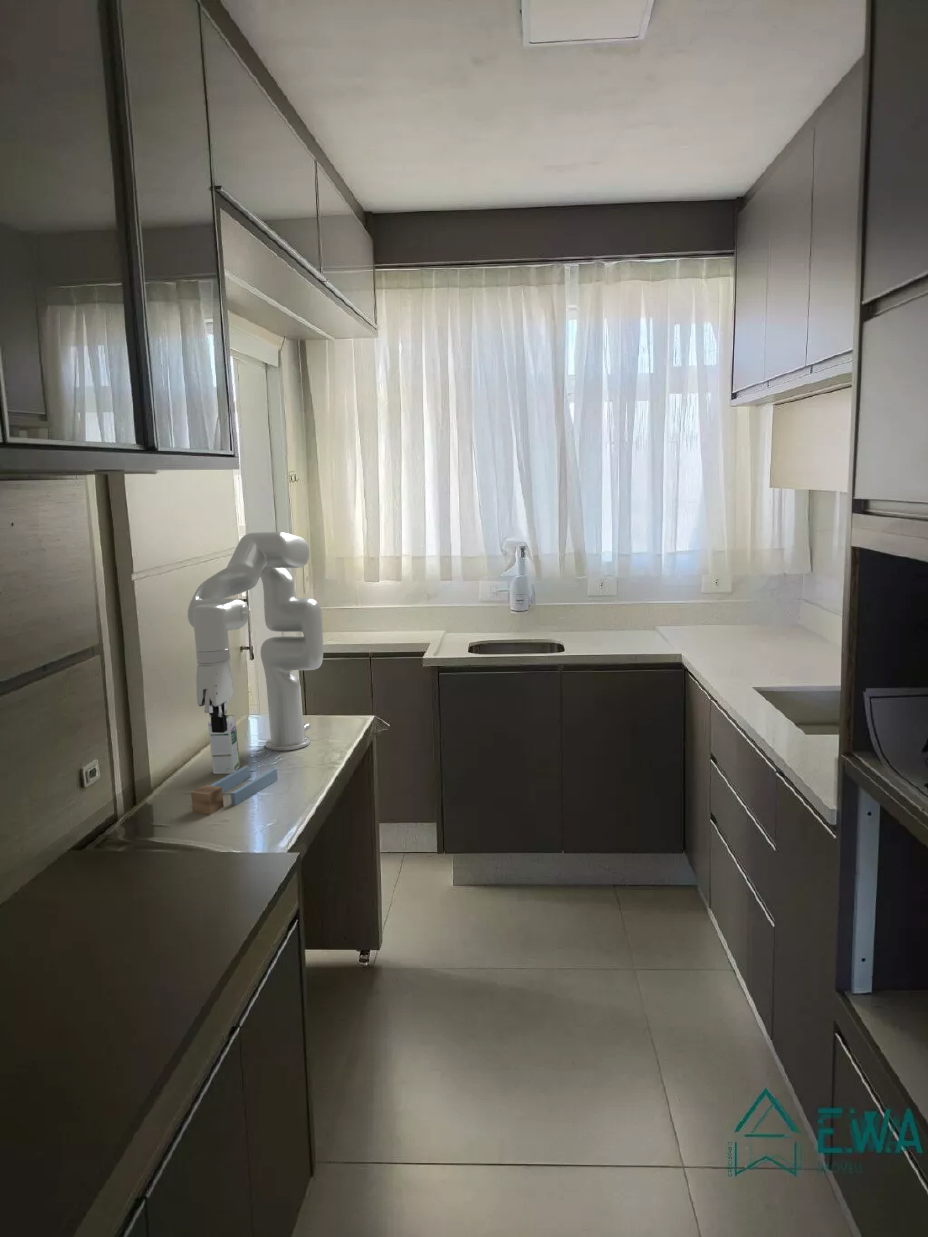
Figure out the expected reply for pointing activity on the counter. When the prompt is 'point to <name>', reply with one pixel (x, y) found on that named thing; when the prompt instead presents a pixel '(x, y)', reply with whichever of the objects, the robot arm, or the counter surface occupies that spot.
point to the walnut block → (207, 799)
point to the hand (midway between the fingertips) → (219, 731)
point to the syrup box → (225, 748)
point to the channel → (248, 788)
